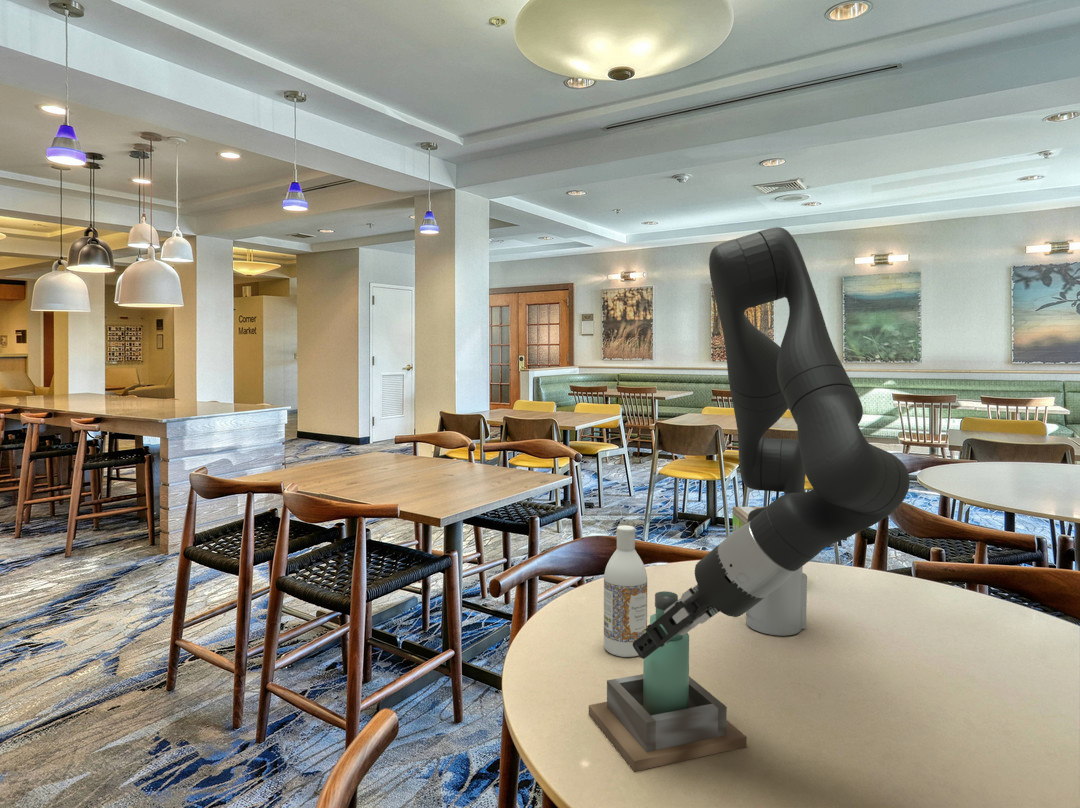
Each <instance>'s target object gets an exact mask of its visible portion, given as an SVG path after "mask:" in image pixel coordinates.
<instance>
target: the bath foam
mask: <svg viewBox="0 0 1080 808" xmlns="http://www.w3.org/2000/svg"><path fill="white" fill-rule="evenodd" d="M635 548H636V528H635V527H634V526H633V525H626V524H625V525H618V526H617V527H616V550H615V551H614V552H613V554H612V555H611V557H610V558H609V560H608V562H607V564H606V566H605V570H604V575H603V647H604V649H605V651H607V652H608V653H609V654H612V655H613V656H617V657H621V658H622V657H623V658H634V657H637V656H639V655H638V653H637V652H636V650H635V649H634V647H633V642H634V641H636V640H637V639H638V638H639V637H641V636H642V635H643V633H644V631H645V629H646V628H647V626H648V574H647V569H646V567H645V563H644V562H643V560H642V559H641V557H640V555H639V554H638V553H637V550H636V549H635ZM639 657H640V656H639Z"/></svg>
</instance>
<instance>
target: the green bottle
mask: <svg viewBox="0 0 1080 808" xmlns="http://www.w3.org/2000/svg"><path fill="white" fill-rule="evenodd" d="M678 600H679V595H678V594H677V593H675V592H673V591H667V590H666V591H665V590H664V591H657V592H655V594H654V608H655V613H653V614H652V615H650V616H649V625H651V624H652V623H654V622H655V621H656V620H657V619H659V618H660V617H661V616H662V615H663V614H664V611H665V610H666V609H667V608H668V607H670V606H671V605H672V604H674V603H675V602H676V601H678ZM660 626H661V628H662V629H663V630H664V632H665V633H666V634H668V633H667V631H666V630H665V628H664V627H663V626H662V624H661V625H660ZM645 632H646V631H644V633H645ZM644 633H643V634H644ZM668 642H669V643H667V644H666V645H664V646H663V647H661V646H660V647H659V648H658V649H656V650H655V651H654V652H653V653H651V654H650V655H649V656H647V657H646V658H644V659H643V661H642V664H643V666H642V668H643V669H642V671H643V708H644V709H645V710H646V711H647V712H648V713H649V714H650V715H657V714H662V713H667V712H672V711H677V710H682V709H688V708H689V676H690V634H689V632H687V633H686V634H685V635H683V636H680V635H676V636H674V637H673V638H672V639H670V640H669V641H668Z"/></svg>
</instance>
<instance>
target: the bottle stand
mask: <svg viewBox="0 0 1080 808" xmlns="http://www.w3.org/2000/svg"><path fill="white" fill-rule="evenodd" d="M727 709H728V707H727V706H726V705H725V704H724V703H723V702H722V701H720V700H719V699H718V698H717V697H715V696H714V695H713V694H712V693H711V692H709V691H708V690H707V689H705V688H704V687H703V686H702V685H701V684H699V683H698V682H697V681H696V680H694V678H692V677H691V676H690V675H689V708H688V709H682V710H677V711H672V712H667V713H662V714H657V715H650V714H649V713H648V712H647V711H646V710H645V709H644V708H643V674H642V673H641V674H636V675H631V676H624V677H617V678H613V679H607V680H606V701H604V702H597V703H594V704H593V703H592V704H588V715H589V717H590V718H591V719H592V720H593V721H594V723H595V724H596V725H597V726H598V727H599V729H600V731H601V732H602V733H603V734H604V735H605V737H606V738H607V739H608V740H609V742H610V743H611V744H612V745H613V747H614V748H615V749H616V750H617V751H618V753H619V754H620V756H622V758H623V759H624V761H625V760H626V761H625V762H626V764H628V765H630V766H629V767H630V768H631V769H632V770H633V772H639V771H643V770H648V769H652V768H656V767H660V766H661V767H662V766H664V765H669V764H671V765H672V764H674V763H675V764H676V763H679V762H684V761H687V760H693V759H697V758H702V757H707V756H709V755H714V754H719V753H723V752H728V751H733V750H737V749H742V748H747V746H748V744H747V741H748V740H747V739H748V738H747V735H745V734H744V733H743V732H742V731H741V730H739V729H738V728H737V727H736V726H735V725H734V724H732V723H731V722H730V721H729V720H728V719H727V716H728V714H727V712H728V710H727Z"/></svg>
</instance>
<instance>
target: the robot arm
mask: <svg viewBox="0 0 1080 808" xmlns="http://www.w3.org/2000/svg"><path fill="white" fill-rule="evenodd" d="M708 260H709V261H708V265H709V276H710V281H711V287H712V291H713V296H714V299H715V304H716V308H717V313H718V317H719V321H720V327H721V330H722V335H723V342H724V348H725V349H724V350H725V356H726V357H725V358H726V366H727V367H726V369H727V377H728V379H727V380H728V384H729V390H730V396H731V402H732V406H733V412H734V416H735V417H734V418H735V423H736V424H735V425H736V431H737V444H738V445H737V447H738V449H737V450H738V463H739V465H738V466H739V472H740V477H741V481H742V483H743V484H744V486H745V487H747V488H749V489H751V490H756V491H764V492H777V493H781V492H782V493H783V495H780V496H779V497H777V498H776V499H774V501H772V502H771V503H769V505H766V506H761V507H762V508H758V509H755V510H753V511H751V512H750V513H749V514H748V523H746V524H745V525H743V526H741V527H740V528H738V529H737V530H736V531H734V532H733V531H732V533H731V534H729V535H728V536H727V537H726V538H725V539H723V540H722V541H721V542H720V543H719V544H718V545H716V546H715V547H714V548H713V549H711V550H710V551H709V552H708V553H707V554H706V555H704V556H703V557H702V558H701V559H700V560H699V561H697V563H696V564H695V567H694V576H695V577H694V578H695V582H696V584H695V585H694V587H690V588H689V589H687V590H685V592H682V594H681V596H680V598H678V601H676V602H675V603H674V604H672V605H671V606H670V607H668V608H667V609H666V610H665V611H664V614H663V615H662V616H661V617H660V618H659V619H657V620H656V621H655V622H654V623H652V624H651V625H650V624H647V628H646V629H645V631H646V632H645V633H644V634H643V635H642V636H641V637H639V638H638V639H637V640H636V641H634V642H633V647H634V649H635V650H636V652H637V653H638V655H639V658H640V659H644V658H646V657H647V656H649V655H650V654H651V653H653V652H654V651H655V650H656V649H658V648H659V647H660V646H661V647H663V646H664V645H666V644H667V643H669V642H668V641H669V640H670V639H672V638H673V637H674V636H676V635H680V636H683V635H685V634H686V633H689V632H690V631H691V630H693V629H694V628H695V627H697V626H698V625H701V624H704V623H706V622H707V621H708V620H710V619H711V618H713V617H714V616H715V615H717V614H718V613H722V614H724V615H726V616H727V617H732V618H738V617H740V616H742V615H744V614H745V624H746V626H747V627H749V628H750V629H752V630H754V631H757V632H759V633H762V634H766V635H771V636H780V637H781V636H783V637H785V636H792V635H797V634H798V633H801V631H802V630H803V629H807V611H808V610H807V602H808V601H807V599H808V575H807V574H806V573H804V571H803V568H804V567H803V566H805V565H806V564H808V563H809V562H810V561H812V560H813V559H814V558H815V557H816V556H818V555H819V554H820V553H821V552H822V551H823V550H825V549H826V548H828V547H829V546H831V545H833V544H836V543H839V542H841V541H844V540H845V539H848V538H850V537H852V536H855V535H856V534H858V533H860V532H863V531H864V530H866V529H867V528H871V527H872V526H874V525H876V524H877V523H880V522H881V521H883V520H884V519H886V518H887V517H888V516H891V514H892V513H894V512H895V511H896V510H897V509H898V508H899V507H900V505H902V503H903V501H904V500H905V498H906V497H907V495H908V492H909V489H910V484H911V483H910V482H911V481H910V474H909V470H908V469H907V467H906V465H905V464H904V462H903V461H902V460H901V459H899V458H898V457H897V456H896V455H895V454H892V453H891V452H888V451H887V450H885V449H882V448H880V447H877V446H876V445H873V444H871V443H869V441H868V440H867V439H866V437H865V436H864V434H863V433H862V430H861V428H860V426H859V424H860V423H861V421H862V418H863V414H864V409H863V405H862V401H861V399H860V397H859V395H858V393H857V391H856V388H855V387H854V385H853V383H852V381H851V379H850V378H849V374H848V373H847V371H846V369H845V368H844V366H843V364H842V361H841V359H840V358H839V356H838V354H837V351H836V349H835V347H834V345H833V343H832V339H831V337H830V334H829V331H828V327H827V325H826V321H825V318H824V315H823V312H822V309H821V306H820V303H819V300H818V297H817V294H816V291H815V288H814V286H813V285H814V284H813V283H812V280H811V276H810V273H809V271H808V268H807V265H806V263H805V260H804V257H803V254H802V252H801V250H800V248H799V246H798V243H797V241H796V240H795V238H794V236H793V235H791V233H790V232H789V231H788V230H787V229H786V228H783V227H782V226H781V227H779V226H777V227H770V228H766V229H763V230H762V229H761V230H759V231H757V232H754V233H751V234H747V235H743V236H739V237H737V238H733V239H730V240H727V241H724V242H721V243H720V244H718V245H716V246H714V247H713V248H712V249H711V251H710V254H709V259H708ZM784 298H786V299H787V304H788V309H789V313H788V318H787V325H786V328H785V331H784V334H783V338H782V341H781V344H780V345H779V344H778V343H777V342H775V341H774V339H771V338H770V337H769V336H768V335H766V334H765V333H763V332H762V331H761V330H760V329H758V328H757V327H756V326H755V325H754V324H753V323H752V322H751V321H750V320H749V318H748V317H747V315H746V314H745V312H746V311H747V310H748V309H751V308H754V307H758V306H761V305H764V304H768V303H772V302H775V301H778V300H781V299H784ZM788 410H789V411H790V413H791V416H792V418H793V420H794V422H795V424H796V429H797V439H793V438H791V439H790V438H770V437H769V438H767V437H766V438H764V437H763V435H764V434H765V433H766V432H767V431H768V430H770V429H771V428H772V427H773V426H774V425H775V424H777V422H778V421H779V420H780V419H781V418H782V417H783V416H784V414H785V413H786V412H787V411H788ZM762 437H763V438H762ZM806 478H807V481H808V482H809V484H810V486H811V487H812V488H813V489H811V490H809V491H806V492H805V487H806V486H805V484H806ZM661 624H662V626H663V627H664V628H665V630H666V631H667V633H668V634H666V633H665V632H664V630H663V629H662V628H661V626H660V625H661Z"/></svg>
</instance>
